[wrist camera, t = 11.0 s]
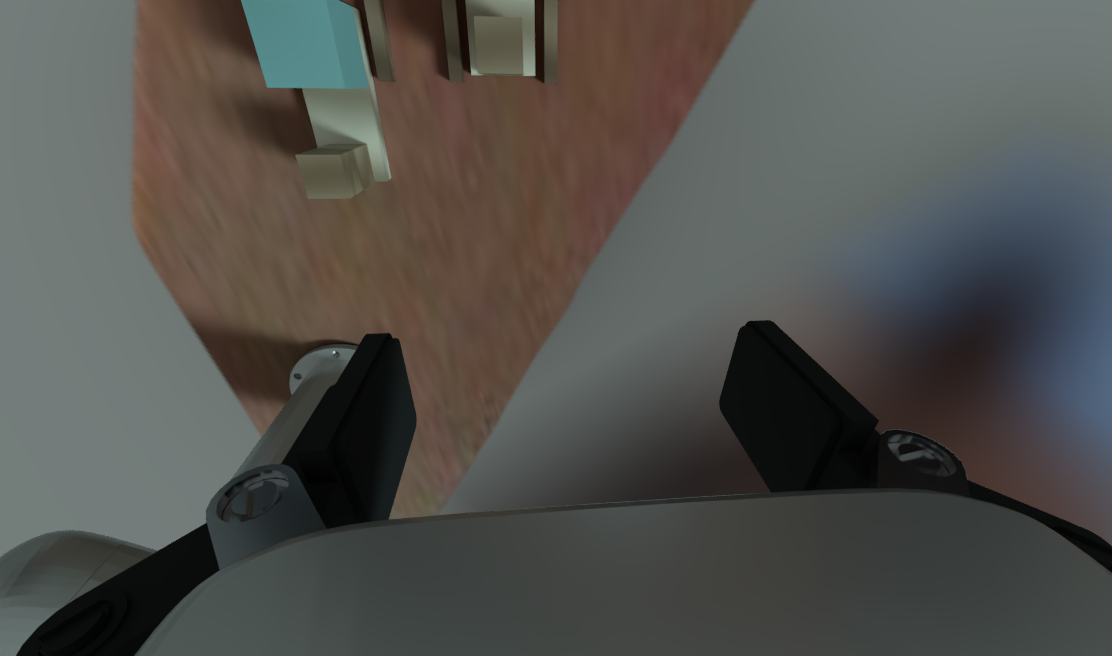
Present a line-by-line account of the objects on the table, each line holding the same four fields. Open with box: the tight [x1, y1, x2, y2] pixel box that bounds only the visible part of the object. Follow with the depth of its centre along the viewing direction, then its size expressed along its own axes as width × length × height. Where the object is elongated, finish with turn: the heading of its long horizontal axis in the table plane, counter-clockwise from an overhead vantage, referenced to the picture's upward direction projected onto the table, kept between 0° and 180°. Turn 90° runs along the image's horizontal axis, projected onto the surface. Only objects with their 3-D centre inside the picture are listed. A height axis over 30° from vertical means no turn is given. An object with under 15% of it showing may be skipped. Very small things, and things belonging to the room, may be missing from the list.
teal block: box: [241, 0, 369, 89], centre depth 28 cm, size 5×5×5 cm
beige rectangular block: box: [465, 0, 535, 76], centre depth 29 cm, size 5×5×8 cm
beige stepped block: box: [295, 7, 391, 199], centre depth 30 cm, size 12×5×8 cm, turn 179°
